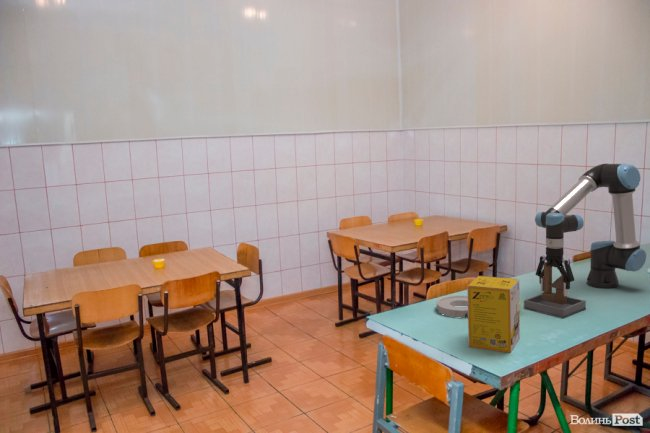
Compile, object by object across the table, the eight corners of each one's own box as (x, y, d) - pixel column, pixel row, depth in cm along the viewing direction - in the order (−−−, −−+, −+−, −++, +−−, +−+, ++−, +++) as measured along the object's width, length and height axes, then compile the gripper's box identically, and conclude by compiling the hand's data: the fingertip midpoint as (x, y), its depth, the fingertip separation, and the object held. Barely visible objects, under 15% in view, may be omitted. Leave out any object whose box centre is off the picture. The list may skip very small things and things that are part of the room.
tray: (546, 300, 270) (546, 292, 269) (585, 309, 254) (585, 300, 253) (524, 308, 260) (524, 300, 259) (563, 318, 244) (563, 309, 243)
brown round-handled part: (562, 305, 251) (562, 266, 248) (541, 299, 260) (541, 262, 257) (567, 303, 253) (567, 265, 250) (546, 298, 262) (546, 261, 259)
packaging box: (479, 333, 232) (478, 275, 229) (519, 338, 224) (519, 278, 220) (468, 346, 218) (467, 285, 215) (510, 353, 210) (510, 289, 206)
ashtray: (472, 322, 247) (471, 313, 246) (427, 313, 262) (427, 305, 262) (495, 308, 263) (495, 300, 263) (452, 300, 279) (451, 293, 278)
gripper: (527, 244, 260) (527, 290, 263) (574, 251, 241) (573, 300, 244) (536, 242, 264) (536, 286, 267) (583, 248, 245) (582, 296, 248)
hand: (554, 293), depth 256 cm, fingers closed on brown round-handled part, 11 cm apart
